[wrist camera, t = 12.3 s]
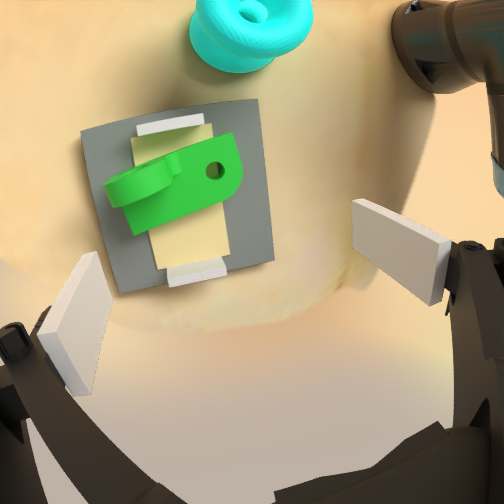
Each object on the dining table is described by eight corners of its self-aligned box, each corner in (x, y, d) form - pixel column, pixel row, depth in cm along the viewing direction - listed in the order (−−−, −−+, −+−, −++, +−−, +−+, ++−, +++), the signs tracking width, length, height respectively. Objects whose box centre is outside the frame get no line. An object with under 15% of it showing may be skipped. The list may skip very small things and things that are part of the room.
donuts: (241, 75, 21) (174, -18, 17) (220, 91, 30) (170, 21, 26) (339, 29, 21) (278, -56, 17) (294, 51, 30) (249, -15, 26)
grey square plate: (252, 100, 31) (266, 95, 27) (269, 254, 38) (283, 271, 34) (85, 131, 28) (71, 131, 23) (121, 285, 35) (117, 307, 30)
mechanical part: (135, 229, 31) (127, 259, 23) (113, 175, 28) (96, 189, 21) (245, 187, 32) (269, 205, 25) (228, 132, 30) (248, 132, 22)
